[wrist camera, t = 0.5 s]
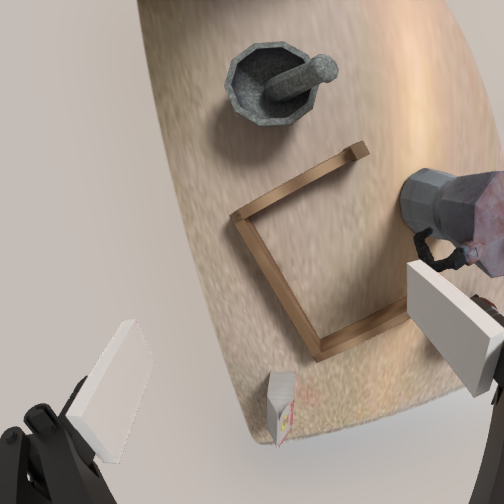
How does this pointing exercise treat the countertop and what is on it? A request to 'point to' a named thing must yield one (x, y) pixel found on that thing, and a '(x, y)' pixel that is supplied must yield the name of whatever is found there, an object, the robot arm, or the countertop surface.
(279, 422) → the white paper packet
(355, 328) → the bay
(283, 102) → the mortar and pestle
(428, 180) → the moka pot
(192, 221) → the countertop surface
